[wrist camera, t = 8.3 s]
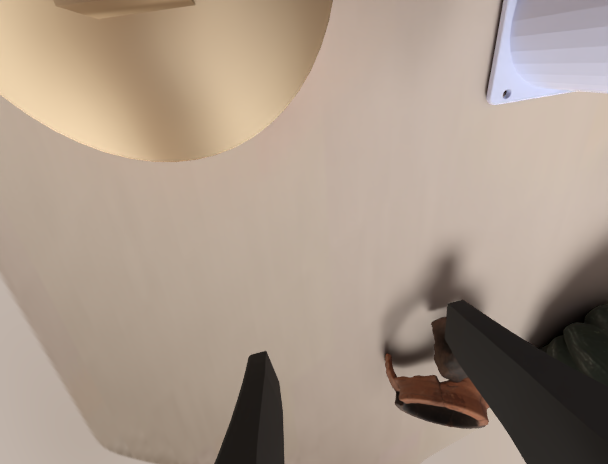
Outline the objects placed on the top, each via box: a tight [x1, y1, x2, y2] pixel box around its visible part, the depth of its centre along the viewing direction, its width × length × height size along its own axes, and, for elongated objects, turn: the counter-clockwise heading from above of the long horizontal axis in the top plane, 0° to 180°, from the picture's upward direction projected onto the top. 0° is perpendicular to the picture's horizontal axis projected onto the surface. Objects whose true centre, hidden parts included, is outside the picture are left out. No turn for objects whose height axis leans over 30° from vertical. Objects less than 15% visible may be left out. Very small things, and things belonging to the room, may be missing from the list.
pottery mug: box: [385, 317, 489, 429], centre depth 26 cm, size 12×10×8 cm
